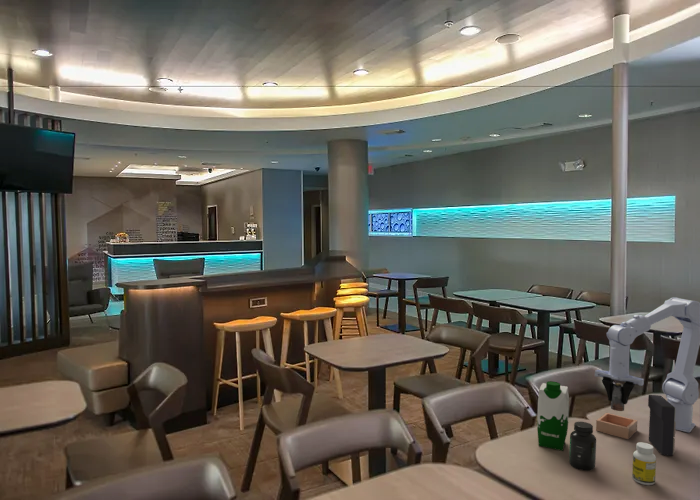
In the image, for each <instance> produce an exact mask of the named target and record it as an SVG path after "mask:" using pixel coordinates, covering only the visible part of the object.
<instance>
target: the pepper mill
mask: <svg viewBox="0 0 700 500" xmlns="http://www.w3.org/2000/svg"><path fill="white" fill-rule="evenodd" d="M623 397H624V390H623V384H622V383H620V382H616V383H613V384H612V389H611V401H610V409H611V410H613V411H617V412H623V411H625V404H623Z"/></svg>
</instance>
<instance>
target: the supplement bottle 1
mask: <svg viewBox="0 0 700 500" xmlns="http://www.w3.org/2000/svg"><path fill="white" fill-rule="evenodd" d="M593 432H594V425H593V424H592V423H589V422H586V421H575V422H574V424H573V431H572V432H571V433H570V435H569V454H568V455H569V456H568V457H569V458H568V460H569V461H568V462H569V465H570V466H571V467H572V468H575V469H577V470H580V471H585V472H588V471H593V470H595V468H596V459H597V458H596V456H597V438H596V436H595V435H594V434H593Z"/></svg>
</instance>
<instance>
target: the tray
mask: <svg viewBox="0 0 700 500" xmlns="http://www.w3.org/2000/svg"><path fill="white" fill-rule="evenodd" d="M595 421H596V423H595V425H596V426H595V431H598V432H601V433H603V434H607V435H611V436H615V437H619V438H622V439H626V440H629V439H630V438H631V437H632V436H633V435H634V434H635V433H636V432H637V431H638V420H637V419H634V418H629V417H626V416H622V415H617V414H613V413H609V412H605V413H604V414H603V415H602V416H600V417H599V418H597V419H596V420H595Z"/></svg>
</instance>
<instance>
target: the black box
mask: <svg viewBox="0 0 700 500" xmlns="http://www.w3.org/2000/svg"><path fill="white" fill-rule="evenodd" d="M647 400H648V401H647V402H648V403H647V407H648V408H649V420H648V421H649V425H648V427H649V428H648V441H649V442H650V443H651V445H652V446H653V448H655V449H656V450H657V451H658V452H659V453H660V455H661V456H669V457H673V455H674V454H675V447H676V446H675V442H676V441H675V439H676V438H675V437H676V429H675V426H676V422H675V421H674V420H675V411H676V409H675V407H674V406H673V405H671V404H670V403H669V402H668V401H667V399H666V398H664V397H663V395H656V394H648V399H647Z"/></svg>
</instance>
